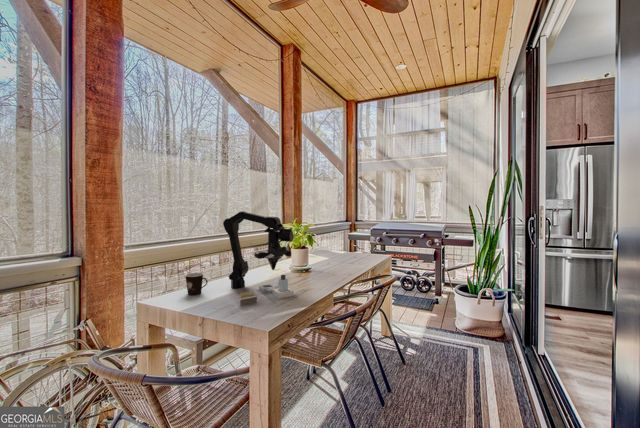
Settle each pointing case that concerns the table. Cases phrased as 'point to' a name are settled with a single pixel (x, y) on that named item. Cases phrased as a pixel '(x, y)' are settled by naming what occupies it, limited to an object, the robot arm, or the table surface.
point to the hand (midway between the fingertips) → (273, 269)
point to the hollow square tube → (266, 288)
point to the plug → (283, 284)
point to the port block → (283, 293)
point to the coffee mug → (194, 283)
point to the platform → (248, 298)
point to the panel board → (272, 296)
